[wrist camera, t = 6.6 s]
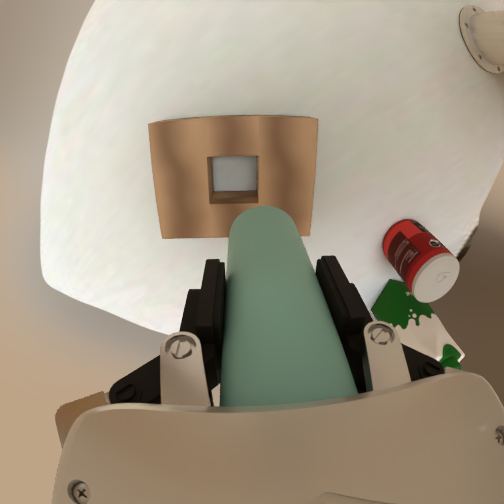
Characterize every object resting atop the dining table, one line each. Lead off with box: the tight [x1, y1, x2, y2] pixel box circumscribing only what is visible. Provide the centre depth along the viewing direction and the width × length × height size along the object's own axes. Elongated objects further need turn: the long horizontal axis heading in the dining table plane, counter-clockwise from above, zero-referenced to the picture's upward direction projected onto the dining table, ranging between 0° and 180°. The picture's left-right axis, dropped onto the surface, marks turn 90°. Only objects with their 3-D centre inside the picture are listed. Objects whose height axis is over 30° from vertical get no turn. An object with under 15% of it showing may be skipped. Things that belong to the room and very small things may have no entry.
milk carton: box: [371, 279, 465, 370], centre depth 36 cm, size 9×9×20 cm
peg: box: [220, 206, 358, 407], centre depth 9 cm, size 4×4×16 cm
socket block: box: [148, 115, 318, 239], centre depth 31 cm, size 18×14×4 cm
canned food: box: [383, 220, 459, 303], centre depth 34 cm, size 8×8×11 cm
